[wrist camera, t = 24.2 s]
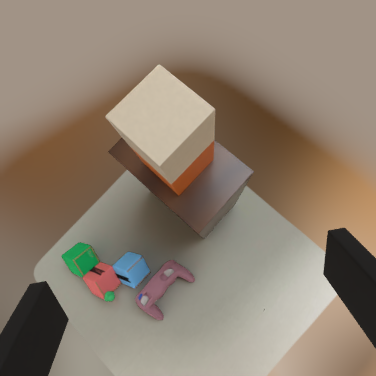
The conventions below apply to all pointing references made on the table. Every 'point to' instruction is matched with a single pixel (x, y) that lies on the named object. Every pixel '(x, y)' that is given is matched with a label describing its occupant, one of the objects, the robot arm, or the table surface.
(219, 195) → the shelf
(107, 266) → the building blocks
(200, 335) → the table surface
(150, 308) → the video game controller
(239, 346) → the table surface
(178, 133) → the cream and orange block
